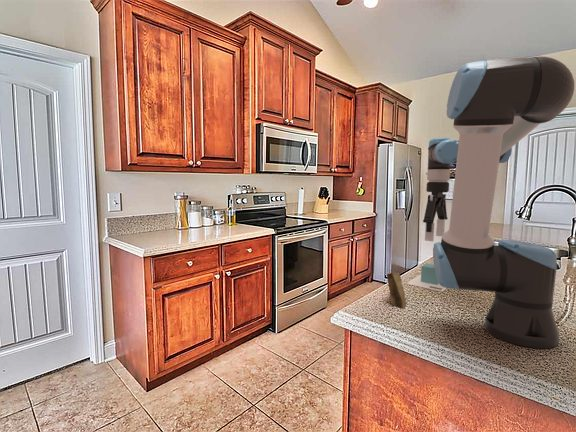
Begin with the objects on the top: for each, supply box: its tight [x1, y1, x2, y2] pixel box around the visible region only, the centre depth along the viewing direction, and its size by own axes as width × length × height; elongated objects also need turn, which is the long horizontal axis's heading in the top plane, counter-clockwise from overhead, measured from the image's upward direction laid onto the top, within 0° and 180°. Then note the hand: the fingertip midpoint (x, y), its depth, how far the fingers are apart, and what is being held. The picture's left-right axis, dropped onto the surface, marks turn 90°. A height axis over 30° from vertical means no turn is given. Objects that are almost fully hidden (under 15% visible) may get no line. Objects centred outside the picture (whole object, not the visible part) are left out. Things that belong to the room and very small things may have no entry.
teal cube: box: [420, 262, 439, 285], centre depth 123 cm, size 6×6×6 cm
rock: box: [386, 271, 407, 309], centre depth 103 cm, size 11×9×10 cm
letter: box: [405, 273, 448, 292], centre depth 123 cm, size 18×13×1 cm
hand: (434, 238), depth 121 cm, fingers open, 13 cm apart
